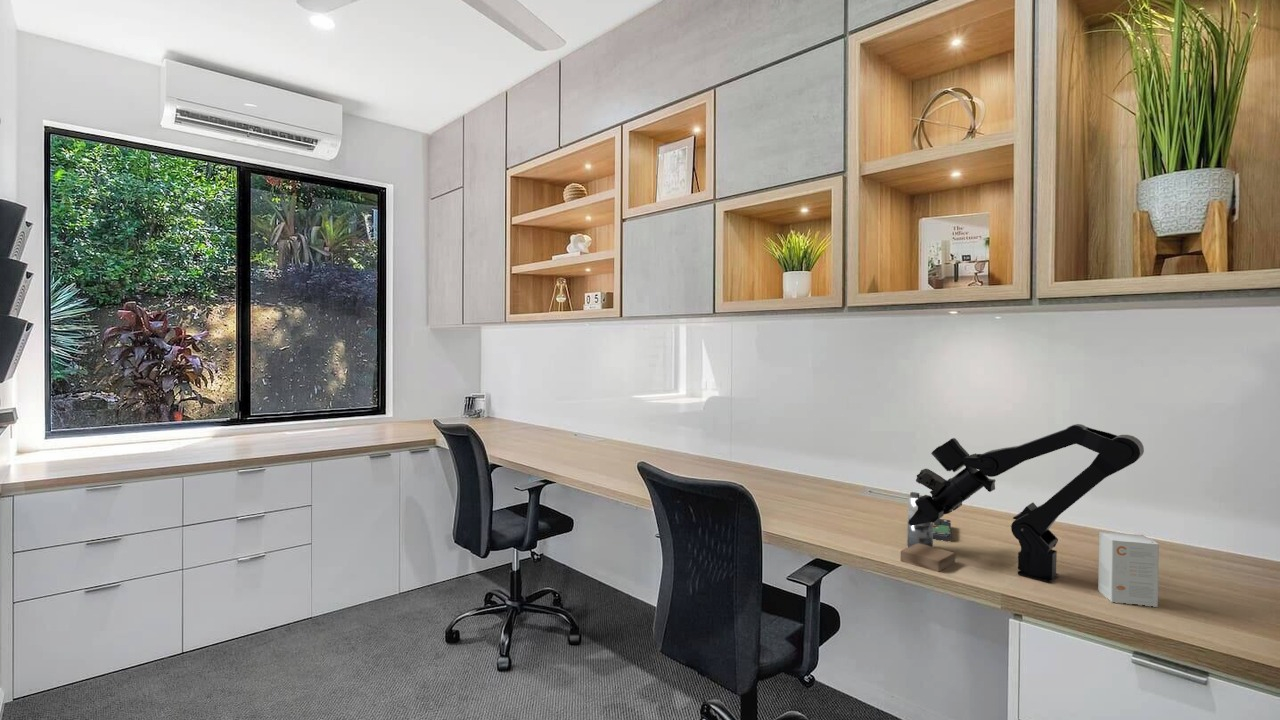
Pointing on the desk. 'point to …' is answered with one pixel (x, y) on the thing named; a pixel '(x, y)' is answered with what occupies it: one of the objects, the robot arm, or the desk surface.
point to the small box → (1128, 568)
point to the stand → (927, 557)
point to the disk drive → (942, 530)
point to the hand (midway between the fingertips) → (914, 521)
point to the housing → (920, 531)
